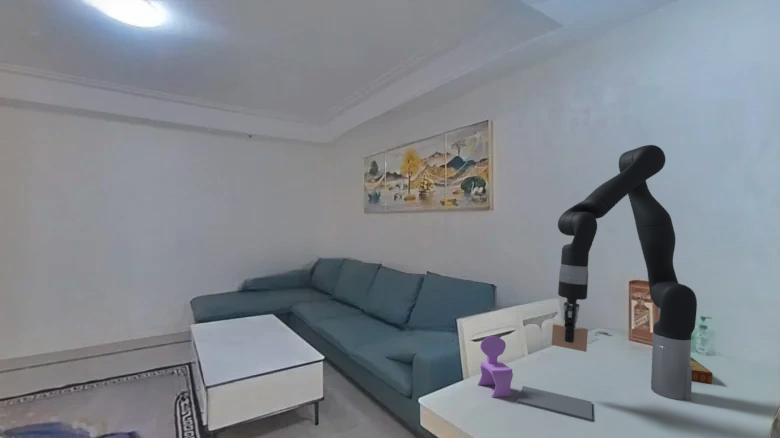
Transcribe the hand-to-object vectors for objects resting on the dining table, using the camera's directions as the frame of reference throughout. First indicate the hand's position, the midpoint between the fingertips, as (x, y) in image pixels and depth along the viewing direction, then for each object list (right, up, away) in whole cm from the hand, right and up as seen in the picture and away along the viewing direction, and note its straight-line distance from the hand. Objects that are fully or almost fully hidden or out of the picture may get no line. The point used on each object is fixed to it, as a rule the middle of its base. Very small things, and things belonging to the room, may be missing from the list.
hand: (569, 340), depth 109 cm
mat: (-6, -15, -5) cm, 18 cm away
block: (0, -2, 0) cm, 2 cm away
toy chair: (-21, -15, +1) cm, 26 cm away
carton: (+51, -19, +22) cm, 59 cm away
